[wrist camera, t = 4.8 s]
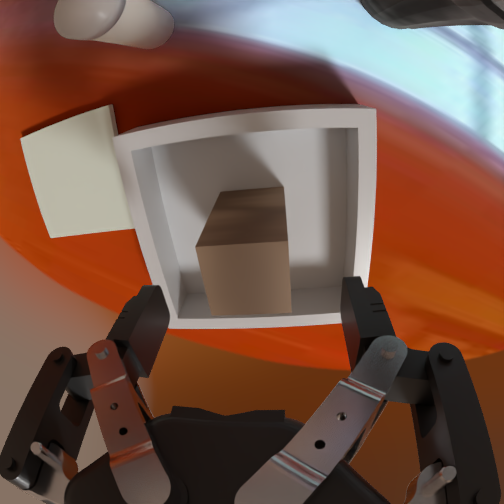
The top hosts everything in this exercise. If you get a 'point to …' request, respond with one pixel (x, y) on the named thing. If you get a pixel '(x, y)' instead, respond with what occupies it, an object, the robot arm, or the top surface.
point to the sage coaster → (78, 175)
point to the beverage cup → (436, 12)
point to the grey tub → (252, 177)
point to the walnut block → (246, 253)
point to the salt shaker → (114, 22)
